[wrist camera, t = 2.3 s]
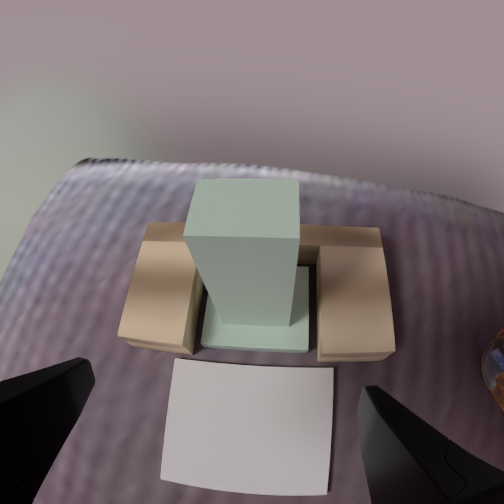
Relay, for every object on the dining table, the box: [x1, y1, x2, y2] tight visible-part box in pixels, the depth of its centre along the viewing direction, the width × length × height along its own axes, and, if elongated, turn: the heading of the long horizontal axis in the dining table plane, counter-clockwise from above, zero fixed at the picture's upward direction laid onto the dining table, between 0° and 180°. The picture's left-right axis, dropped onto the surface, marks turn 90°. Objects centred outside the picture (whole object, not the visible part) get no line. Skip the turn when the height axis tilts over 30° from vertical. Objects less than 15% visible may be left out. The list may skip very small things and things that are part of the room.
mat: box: [160, 358, 333, 495], centre depth 19 cm, size 10×12×1 cm
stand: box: [117, 223, 395, 362], centre depth 23 cm, size 10×20×3 cm, turn 85°
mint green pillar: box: [183, 179, 309, 353], centre depth 19 cm, size 7×8×12 cm
